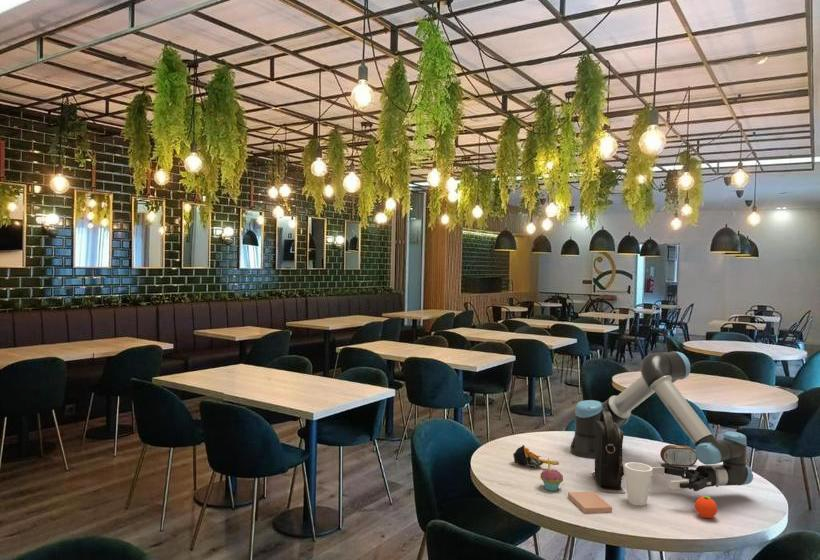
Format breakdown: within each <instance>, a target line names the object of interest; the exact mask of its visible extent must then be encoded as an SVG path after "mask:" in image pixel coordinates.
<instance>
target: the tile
mask: <svg viewBox="0 0 820 560" xmlns="http://www.w3.org/2000/svg"><path fill="white" fill-rule="evenodd" d="M567 498H568V499H569V500H570V501H571V502H572V503H573V504H574V505H576V507H577V508H578V509H579V510H580V511H581V512H582V513H584V514H586V515H587V514H589V515H590V514H608V513H611V512H612V513H613V506H611V505H610V504H609V503H608V502H606V501H605V500H604V498H601V496H600V495H598V494H597V493H596V492H595V491H571V492H570V491H569V492H567Z"/></svg>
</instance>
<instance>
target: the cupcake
mask: <svg viewBox="0 0 820 560" xmlns="http://www.w3.org/2000/svg"><path fill="white" fill-rule="evenodd" d="M547 460H548V464H547V467H548V468H547V469H544V470H543V471H542V472H540V476H539V477H540V480H541V481H542V483H543V485H544V489H545V490H546V491H549V490H550V492H557V491H558V490H559V487H560V484H561V483H562V482H563V481H564V475H562V473H561V472H560V471H559V470H557V469H551V464H550V461H551V460H550V459H549V458H547ZM549 460H550V461H549Z"/></svg>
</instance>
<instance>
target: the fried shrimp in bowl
mask: <svg viewBox="0 0 820 560" xmlns="http://www.w3.org/2000/svg"><path fill="white" fill-rule="evenodd" d="M512 456H513V462H514V464H518V465H520V466H527V467H529V468H532V469H536V468H537V467H540V466H542V465H543V464H547V465H548V459H543V458H542V459H541V457H542V456H541V455H537V454H536V453H533V452H531V451H530V449H529V448H528V447H525V444H522V446H520V447H518V448H517V449H516V450H515V452H514V453H513V455H512ZM549 461H550V465H552V466H559V464H560V462H559V461H557V460H550V459H549Z"/></svg>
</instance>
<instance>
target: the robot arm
mask: <svg viewBox="0 0 820 560" xmlns="http://www.w3.org/2000/svg"><path fill="white" fill-rule="evenodd" d="M640 364H641V365H640V372H641V376H639V378H637V379H636V380H635V381H633V382H632V383H631V384H630V385H629V386H627V388H625V389H624V390H622V391H621V392H620V393H619V394H618V395H611V396H610V397H609V398H607V400H605V401H604V402H601V401H600V400H594V399H589V400H588V399H587V400H581V401H579V402H577V403H576V405H575V411H574V415H575V416H574V436H573V438H572V440H571V444H570V448H569V449H570V451H569V452H570V453H571V454H573V455H575V456H577V457H582V458H586V459H595V438H596V422H597V421H600V416H601V412H603V411H607V412H610V413H611V415H612V420H613V422H615V423H616V424H617V426H618V427H619V428H620V427H622V426H625V425H626V424H627V423H628V421H629V420H630V416H631V414H632V410H634V409H635V408H637V407H638V406H639V405H640V404H642V403H643V402H645V400H646V399H648V398H649V397H650V396H652V395H653V394H654V393H656V395H657V397H659V399H660V400H661V402H662V403H663V404H664V406H665V407H666V409H667V410H668V411H669V413H670V414H671V416H672V417H673V418H674V420H675V421H676V422H677V423H678V425H679V427H681V429H682V431H684V433H685V435H687V437H688V439H689V440H690V441H691V442H692V444H693V445H694V446H695V449H694V450H695V453H696V457H697V461H698V462H700V463H701V464H702V465H698V466H697V467H696V468H695V469H692V468H689V467H690V466H678V465H669V464H663V463H662V464H660V466H653V467H652V466H651V467H652V468H653V469H652V476H665V475H670V476H671V475H672V476H677V477H681V478H682V479H684V480H682V479H681V480H669V489H670V490H681V489H682V490H685V489H687V490H688V489H689V490H693V491H694V492H698V491H701V490H702V489H705V488H710V487H716V488H719V487H724V486H725V487H726V486H736V487H738V486H744V485H745V486H746V485H749V484H751V483H752V482H753V479H754V474H753V470H752V468H751V467H750V466H749V465H748V464H746V463H747V447H748V444H747V436H746V435H745V434H743V433H741V432H737V431H725V432H724V434H723V437H722V439H720V440H717V438H716V437H715V436H714V435H713V433H712V432H711V431H710V430H709V428H708V427H707V425H706V424H705V423H704V421H703V420H702V419H701V417H699V415H698V414H697V413H696V411H695V410H694V408H693V407H692V406H691V405H690V404H689V402H688V400H686V398H685V397H684V396H683V394H682V393H681V391H680V390H679V388H678V387H677V386H676V385H675V384H674V383H675V382H676V381H678V380H684V379H686V378H687V377H689V376H690V373H691V362H690V360H689V358H688V357H687V355H685V354H684V353H682V352H681V351H680V352H679V351H674V350H673V351H672V350H671V351H665V352H653V353H649V354H648V355H645V357H644V358H643V359H642V361H641V363H640ZM720 463H722V464H720Z"/></svg>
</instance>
